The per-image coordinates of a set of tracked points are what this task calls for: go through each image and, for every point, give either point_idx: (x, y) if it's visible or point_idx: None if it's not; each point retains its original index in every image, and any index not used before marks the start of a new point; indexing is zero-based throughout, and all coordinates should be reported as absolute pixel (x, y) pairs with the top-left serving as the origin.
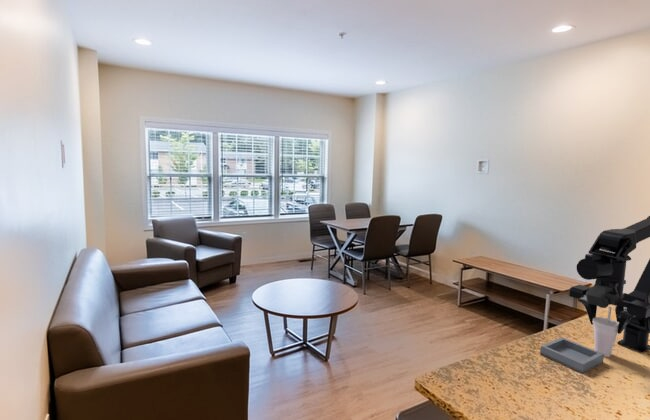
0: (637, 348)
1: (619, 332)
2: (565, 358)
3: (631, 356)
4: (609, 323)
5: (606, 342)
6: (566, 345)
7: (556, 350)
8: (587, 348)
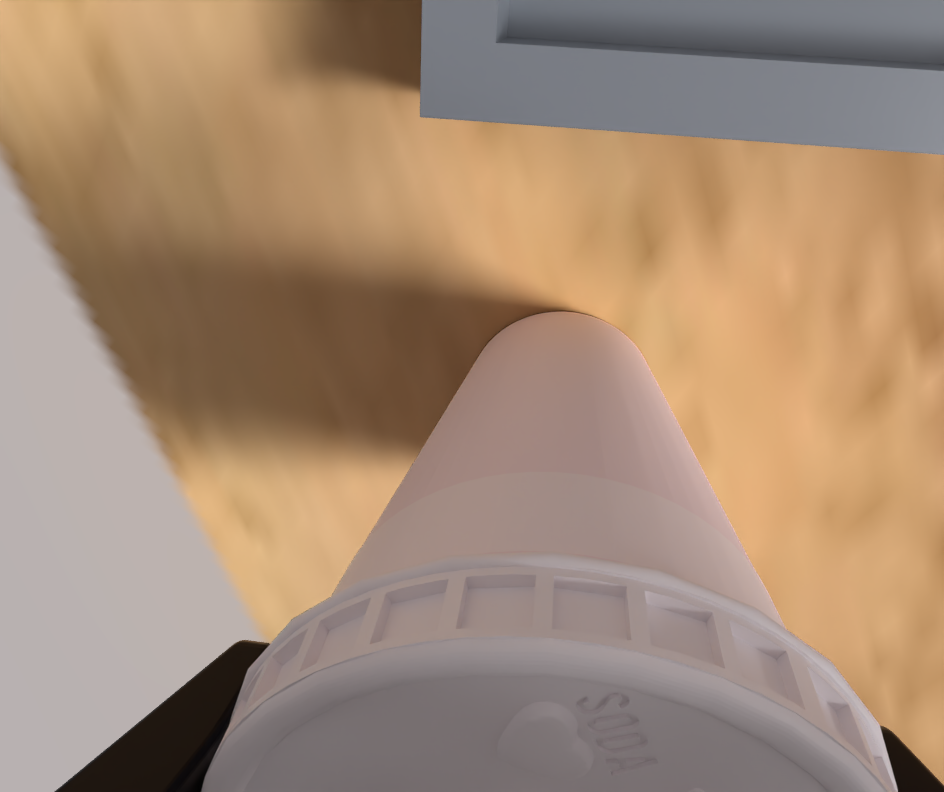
0: None
1: (217, 661)
2: None
3: (337, 574)
4: None
5: (469, 410)
6: None
7: None
8: (703, 81)
